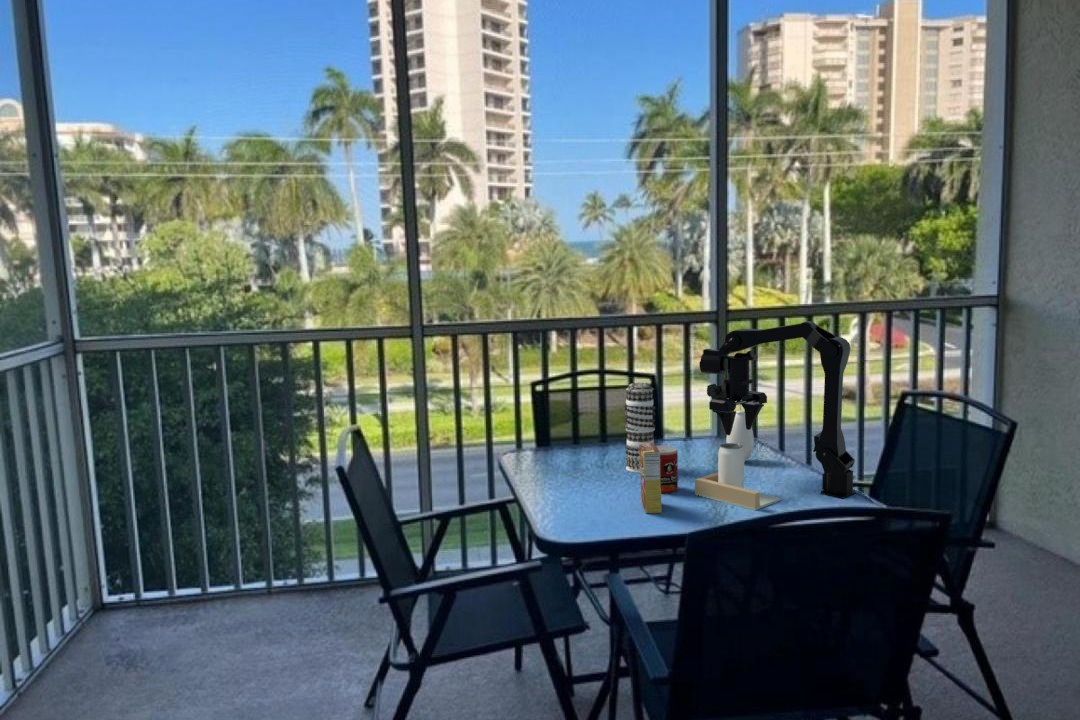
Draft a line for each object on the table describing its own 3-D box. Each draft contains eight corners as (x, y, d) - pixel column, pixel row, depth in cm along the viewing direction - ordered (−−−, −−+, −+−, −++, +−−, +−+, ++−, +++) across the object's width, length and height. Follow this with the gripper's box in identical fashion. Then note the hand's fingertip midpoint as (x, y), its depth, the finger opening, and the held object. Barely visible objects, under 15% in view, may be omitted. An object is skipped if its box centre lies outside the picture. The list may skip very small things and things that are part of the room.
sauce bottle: (754, 465, 229) (755, 404, 227) (727, 465, 230) (727, 404, 228) (752, 458, 236) (752, 399, 234) (725, 458, 238) (725, 399, 235)
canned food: (655, 495, 203) (655, 453, 202) (643, 486, 211) (643, 446, 209) (683, 492, 205) (682, 450, 204) (670, 483, 213) (669, 444, 211)
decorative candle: (621, 472, 226) (620, 386, 223) (628, 463, 234) (627, 381, 231) (653, 474, 223) (652, 387, 220) (658, 465, 232) (658, 381, 228)
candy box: (639, 502, 197) (639, 443, 195) (656, 502, 197) (656, 442, 195) (643, 514, 189) (643, 451, 187) (661, 513, 188) (661, 451, 187)
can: (715, 493, 201) (715, 447, 200) (721, 486, 207) (721, 442, 205) (741, 496, 198) (741, 449, 197) (746, 489, 204) (746, 443, 203)
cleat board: (780, 500, 196) (780, 484, 195) (754, 510, 189) (755, 493, 188) (721, 486, 210) (721, 471, 209) (695, 494, 202) (695, 479, 202)
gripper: (734, 369, 224) (734, 422, 226) (693, 376, 212) (693, 433, 214) (768, 372, 216) (767, 428, 218) (727, 380, 204) (727, 439, 206)
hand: (738, 432), depth 214 cm, fingers open, 9 cm apart
